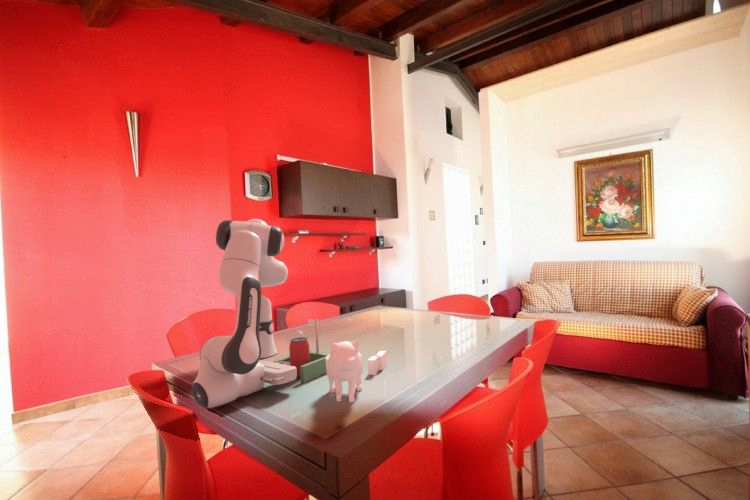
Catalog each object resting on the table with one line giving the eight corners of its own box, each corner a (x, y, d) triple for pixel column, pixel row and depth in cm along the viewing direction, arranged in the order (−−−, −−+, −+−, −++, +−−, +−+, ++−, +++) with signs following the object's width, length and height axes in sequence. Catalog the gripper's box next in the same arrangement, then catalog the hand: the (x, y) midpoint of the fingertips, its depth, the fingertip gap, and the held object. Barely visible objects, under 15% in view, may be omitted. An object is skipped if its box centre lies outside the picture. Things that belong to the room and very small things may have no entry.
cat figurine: (325, 381, 113) (323, 328, 114) (358, 377, 115) (356, 325, 115) (328, 415, 89) (325, 348, 89) (370, 410, 90) (366, 344, 91)
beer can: (306, 378, 117) (305, 341, 117) (287, 378, 118) (286, 341, 118) (312, 371, 124) (311, 336, 124) (294, 371, 124) (293, 337, 125)
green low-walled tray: (304, 382, 113) (301, 328, 113) (274, 375, 121) (272, 325, 121) (334, 369, 125) (332, 320, 125) (306, 364, 133) (304, 318, 133)
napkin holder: (383, 362, 131) (383, 347, 131) (403, 370, 122) (403, 353, 122) (349, 372, 123) (348, 355, 123) (367, 380, 113) (367, 362, 113)
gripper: (274, 371, 99) (309, 357, 110) (230, 361, 110) (266, 350, 122) (275, 393, 99) (310, 378, 110) (231, 382, 110) (267, 369, 122)
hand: (287, 363), depth 116 cm, fingers closed
